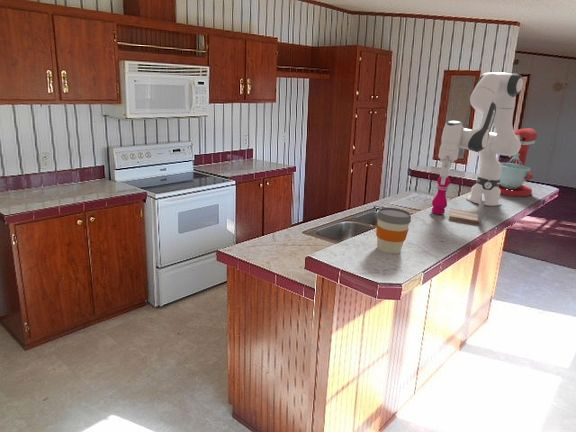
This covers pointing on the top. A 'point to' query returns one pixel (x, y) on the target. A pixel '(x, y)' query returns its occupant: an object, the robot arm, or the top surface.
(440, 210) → the pepper mill
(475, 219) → the bookend
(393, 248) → the reusable coffee cup
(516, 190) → the stand mixer
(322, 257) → the top surface
